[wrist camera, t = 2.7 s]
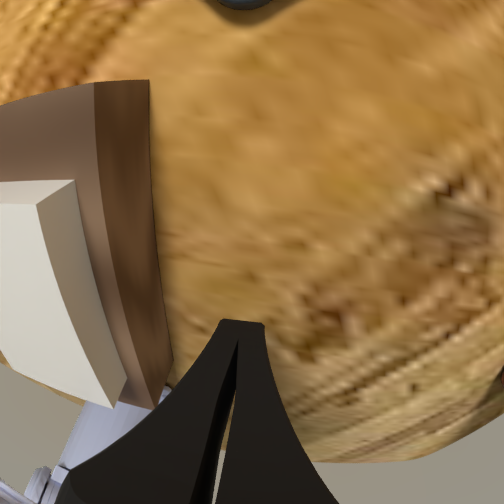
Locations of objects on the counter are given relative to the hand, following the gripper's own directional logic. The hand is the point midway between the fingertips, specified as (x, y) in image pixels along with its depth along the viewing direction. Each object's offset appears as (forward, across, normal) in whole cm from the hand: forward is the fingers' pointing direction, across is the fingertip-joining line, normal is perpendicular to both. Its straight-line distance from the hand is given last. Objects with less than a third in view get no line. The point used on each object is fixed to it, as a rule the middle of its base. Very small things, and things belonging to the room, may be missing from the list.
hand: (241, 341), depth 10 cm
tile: (+1, +9, 0) cm, 9 cm away
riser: (+5, +10, 0) cm, 11 cm away
